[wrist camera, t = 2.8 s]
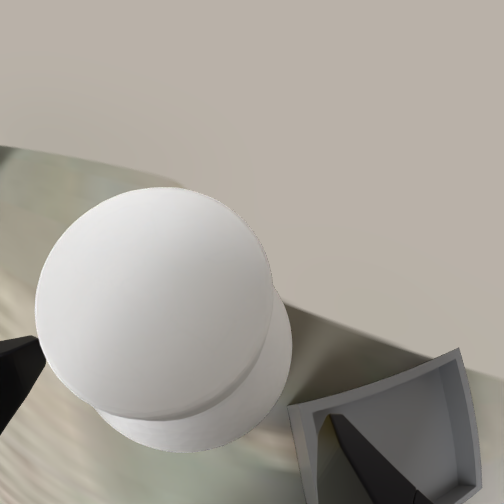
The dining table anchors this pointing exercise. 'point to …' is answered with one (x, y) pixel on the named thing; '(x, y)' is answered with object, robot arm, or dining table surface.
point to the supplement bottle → (165, 319)
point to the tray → (405, 428)
